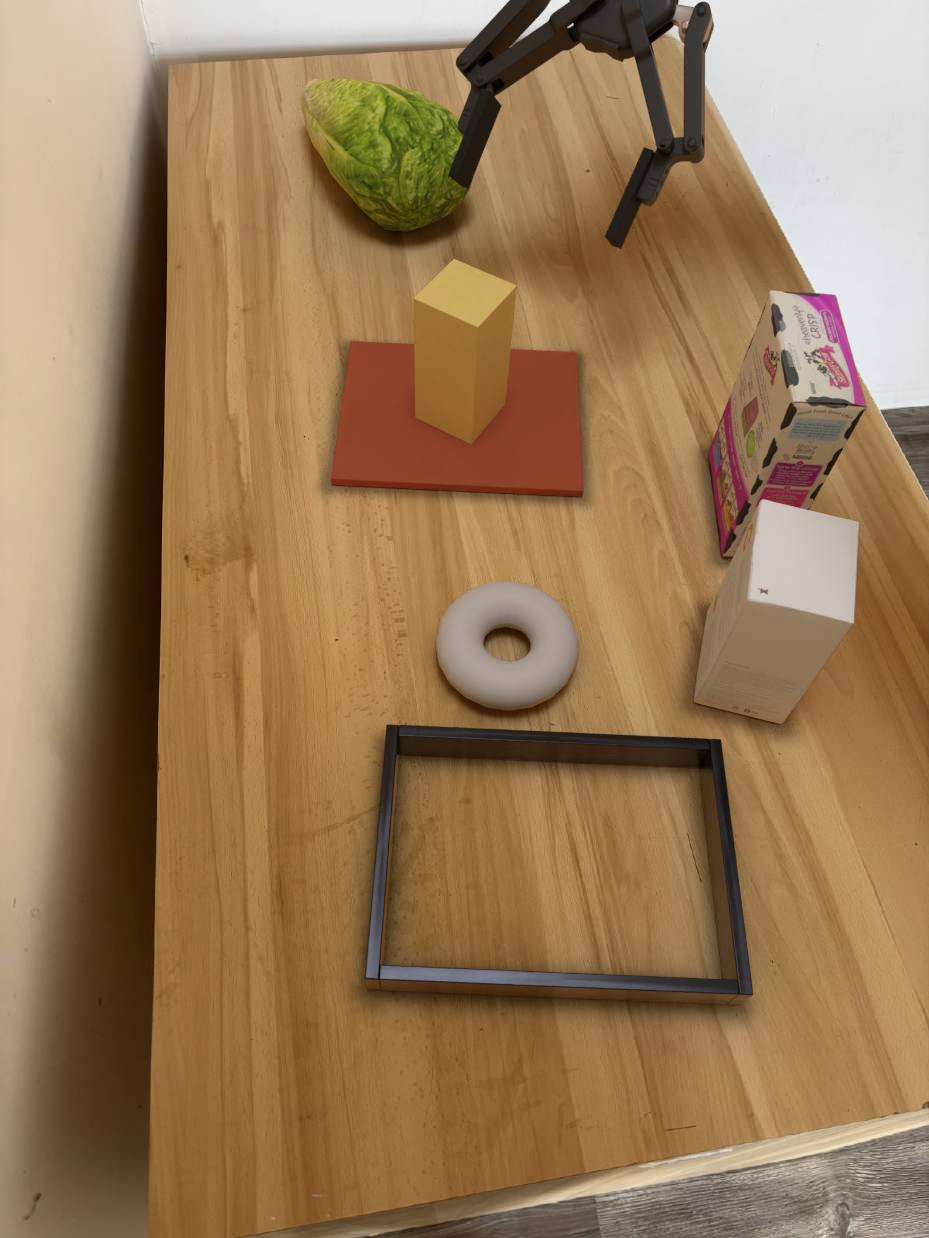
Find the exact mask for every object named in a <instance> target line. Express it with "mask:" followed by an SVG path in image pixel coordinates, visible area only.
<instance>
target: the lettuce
mask: <svg viewBox="0 0 929 1238" xmlns="http://www.w3.org/2000/svg"><path fill="white" fill-rule="evenodd" d="M300 91H301V92H300V94H299V103H300V107H301V110H302V115H303V120H304V124H305V125H304V126H305V129H306V131H307V133H308V136H309V138H310V141H311V143H312V145H313V147H314V148H315V149H316V151H317V153H318V154H319V155H320V157H321V158H322V160H323V162H324V164H325V166H326V168H327V170H328V171H329V173H330V175H331V176H332V178H333V179H334V180H335V181H336V182H337V184H339V185H340V186H341V188H342V189H343V191H345V192H346V194H347V195H348V196H349V198H350V199H351V200H352V201H353V202H354V203H355V204H356V205H357V207H358V208H359V209H360V210H361V211H362V212H363V213H364V214H366V215H367V216H368V217H369V218H370V220H372V221H373V222H375V224H377V225H379V226H380V227H381V228H383V229H384V230H385V231H393V232H395V231H396V232H397V231H398V232H410V231H411V232H412V231H413V230H417V229H421V228H424V227H427V226H429V225H431V224H433V223H435V222H437V221H439V220H441V219H443V218H444V217H447V216H448V215H451V213H452V212H454V211H455V210H456V209H458V207H460V206H461V204H462V202H463V201H464V199H465V197H466V196H467V194H468V193H469V191H470V189H471V186H472V183H473V180H474V178H473V179H472V181H471V184H470V186H469V189H467V188H465V187H462V186H460V185H459V184H458V183H457V182H456V181H455V180H453V179H452V178H451V177H450V176H449V175H448V174H449V171H450V169H451V166H452V164H453V161H454V158H455V156H456V153H457V151H458V148H459V146H460V143H461V141H462V138H463V134H462V133H461V132H460V131H459V130H458V121H459V119H458V118H457V116H456V115H455V114H454V113H453V112H451V111H450V110H449V108H447V107H445V105H443V104H441V103H439V102H438V101H436V100H434V99H432V98H430V97H429V96H426V95H425V94H423V93H421V92H420V91H417V90H413V89H409V88H405V87H401V86H398V85H393V84H390V83H384V82H377V81H371V80H359V79H349V78H313V79H312V80H310V81H308V82H307V83H306V84H304V85H303V87H302V89H301V90H300Z"/></svg>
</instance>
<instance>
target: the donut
mask: <svg viewBox="0 0 929 1238" xmlns="http://www.w3.org/2000/svg"><path fill="white" fill-rule="evenodd" d="M502 628H509V629H514V630H517V631H518V632H521V633H523V635H524V636H526V638H527V639H528V641H529V643H530V647H529V652H528V653H527V654H526V655H524V657H522V658H519V659H517V660H511V661H510V660H509V661H508V660H501V659H498V658H497V657H494V656H492V655H491V654H490V653H489V652H488V651H487V649H486V648H485V645H484V641H485V638H486V637H487V635H488V634H489V633H490V632H491V631H494V630H496V629H502ZM434 644H435V649H436V654H437V655H436V656H437V661H438V665H439V668H440V669H441V671H442V672H443V675H444V676H445V678H446V680H447V681H448V683H449V684H450V685H451V687H453V688H454V689H455V690H457V692H459V693H460V694H461V695H462V696H463V697H464V698H465V699H468V700H470V701H472V702H474V703H476V704H479V705H480V706H483V707H485V708H488V709H495V710H496V709H497V710H502V711H516V710H523V709H530V708H534V707H536V706H537V705H540V704H542V703H545V702H547V701H549V700H551V699H552V698H553V697H554V696H555V695H556V694H557V693H558V692H559V691H561V690H562V689H563V688H564V687H565V686H566V685H567V684H568V682H569V681H570V678H571V676H572V673H573V672H574V670H575V668H576V666H577V663H578V655H579V646H580V645H579V644H580V643H579V638H578V634H577V630H576V626H575V623H574V621H573V620H572V617H571V616H570V615H569V613H568V612H567V610H566V609H565V607H564V606H563V605H562V603H560V602H559V601H558V600H556V598H554V597H553V596H552V595H550V594H549V593H548V592H547V591H545V590H543V589H540V588H538V587H535V586H533V585H531V584H529V583H527V582H518V581H513V580H499V581H490V582H485V583H482V584H480V585H477V586H475V587H472V588H470V589H467V590H466V591H465V592H463V593H462V594H461V595H460V596H458V597H457V598H456V599H455V600H454V601H452V602H451V603H450V604H449V605H448V607H447V608H446V610H445V612H444V613H443V615H442V617H441V618H440V620H439V623H438V627H437V632H436V637H435V642H434Z"/></svg>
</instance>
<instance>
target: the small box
mask: <svg viewBox="0 0 929 1238" xmlns="http://www.w3.org/2000/svg"><path fill="white" fill-rule="evenodd" d="M860 525H861V523H860V522H859V521H857V520H853V519H848V518H845V517H840V516H835V515H831V514H827V513H823V512H819V511H814V510H810V509H809V510H806V509H802V508H797V507H793V506H789V505H785V504H781V503H776V502H772V501H768V500H765V499H762V500H761V501H760V503H759V505H758V507H757V509H756V511H755V513H754V515H753V517H752V519H751V521H750V523H749V526H748V528H747V530H746V532H745V534H744V536H743V538H742V540H741V542H740V544H739V546H738V549H737V551H736V553H735V555H734V557H733V558H731V561H730V563H729V565H728V568H727V570H726V572H725V574H724V576H723V578H722V579H721V583H720V584H719V587H718V588H717V590H716V593H715V595H714V597H713V598H712V600H711V603H710V605H709V607H708V609H707V611H706V615H705V621H704V628H703V633H702V639H701V647H700V652H699V659H698V667H697V673H696V679H695V686H694V695H693V703H695V704H700V705H702V706H706V707H710V708H715V709H718V710H722V711H727V712H730V713H734V714H738V715H742V716H746V717H750V718H754V719H759V720H763V721H767V722H771V723H775V724H778V725H782V724H784V723H785V721H786V720H787V719H788V717H789V716H790V714H791V713H792V712H793V710H794V709H795V707H796V706H797V704H798V703H799V701H800V700H801V699H802V697H803V696H804V695H805V693H806V691H808V689H809V687H810V686H811V685H812V684H813V682H814V681H815V679H816V678H817V676H818V675H819V674H820V672H821V671H822V670H823V668H824V667H825V666H826V663H827V662H828V661H829V660H830V658H831V657H832V655H833V654H834V653H835V651H836V650H837V648H838V647H839V646H840V644H841V643H842V641H843V640H844V639H845V637H846V636H847V634H848V633H849V632H850V631H851V629H852V628H853V626H854V625H855V624H856V608H857V607H856V605H857V587H858V586H857V585H858V564H859V547H860V546H859V543H860Z"/></svg>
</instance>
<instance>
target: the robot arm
mask: <svg viewBox="0 0 929 1238" xmlns="http://www.w3.org/2000/svg"><path fill="white" fill-rule="evenodd" d="M551 1H552V0H508V1H507V2H506V3H505V5H504V6H502V8H500V10H499V11H498V12H497V13H496V14H495V15H494V16H493V17H492V18H491V19H490V20H489V22H488V23H487V24H486V25H485V26H484V28H482V30H480V32H478V34H477V35H476V36H475V37H474V38H473V39H472V40H471V42H469V44H468V45H467V46H466V47H465V48H464V49H463V50H462V51H461V52H460V53H459V54H458V56H457V57H456V59H455V66H456V68H457V70H458V71H459V72H460V73H461V74H462V76H464V78H465V79H466V81H467V82H469V83H470V90H469V93H468V95H467V98H466V101H465V103H464V106H463V108H462V111H461V114H460V116H459V119H458V130H459V131H460V132H461V133H462V134H463V138H462V141H461V143H460V146H459V148H458V151H457V153H456V156H455V158H454V161H453V164H452V166H451V169H450V171H449V174H448V175H449V176H450V177H451V178H452V179H453V180H455V181H456V182H457V183H458V184H459V185H460V186H462V187H465V188H467V189H469V186H470V184H471V181H472V182H473V180H474V176H475V174H476V171H477V169H478V167H479V164H480V161H481V159H482V156H483V153H484V151H485V148H486V146H487V143H488V141H489V139H490V136H491V133H492V131H493V129H494V126H495V123H496V121H497V118H498V116H499V113H500V111H501V109H502V104H501V103H500V102H499V100H498V99H497V97H496V96H498V95H499V94H501V93H502V92H504V91H505V90H507V89H508V88H510V87H512V86H513V85H514V84H516V83H517V82H519V81H520V80H521V79H524V77H526V76H528V75H529V74H531V73H532V72H534V71H535V70H536V69H538V68H540V67H541V66H543V65H544V64H545V63H547V62H548V61H550V60H551V59H553V58H555V57H556V56H557V55H558V54H560V53H562V52H564V51H567V52H568V51H570V50H572V49H573V48H575V47H577V46H578V45H580V44H581V45H582V46H584V47H583V48H585V50H586V51H589V52H592V53H594V54H606V55H608V56H609V57H610V58H611V59H613V60H615V61H617V62H621V63H624V61H625V60H629V59H632V58H634V61H635V64H636V68H637V72H638V76H639V81H640V84H641V88H642V92H643V97H644V102H645V105H646V109H647V113H648V118H649V121H650V125H651V129H652V134H653V137H654V142H655V144H654V145H655V147H656V149H655V150H654V149H651V148H649V147H646V146H643V148H642V151H641V153H640V155H639V158H638V160H637V162H636V164H635V166H634V169H633V171H632V173H631V175H630V178H629V180H628V182H627V184H626V187H625V189H624V191H623V194H622V196H621V198H620V201H619V203H618V205H617V207H616V209H615V212H614V214H613V216H612V218H611V221H610V223H609V225H608V227H607V230H606V232H605V234H604V238H605V239H606V241H607V242H608V243H609V244H610V246H611V247H614V248H615V249H619V250H622V248H623V245H624V244H625V241H626V239H627V237H628V234H629V232H630V230H631V228H632V225H633V223H634V221H635V219H636V217H637V214H638V212H639V210H640V207H641V205H644V206H645V207H649V208H651V207H652V206H654V204H655V203H656V202H657V201H658V198H659V196H660V194H661V192H662V189H663V187H664V185H665V183H666V180H667V178H668V176H669V174H670V171H671V169H672V168H673V167H674V166H675V165H676V164H678V163H684V162H685V163H686V162H687V163H688V162H690V163H692V164H694V165H695V164H696V165H697V164H699V163H700V162H702V161H703V160H704V158H705V154H706V143H705V142H706V53H707V49H708V46H709V45H710V44H709V43H710V40H711V37H712V35H713V32H714V27H715V24H714V17H713V13H712V9H711V5H710V4H709V3H708V2H707V1H700V2H697V3H696V5H694V6H689V5H683V4H679V1H680V0H568V2H567V3H565V4H564V5H562V6H561V7H559V8H558V9H557V10H555V11H554V12H552V13H551V15H549V18H548V20H547V21H546V22H545V23H543V24H541V25H540V26H539V27H537V28H536V29H535V30H533V31H532V32H530V33H529V34H527V35H525V36H524V37H523V38H521V39H520V40H519V41H517V40H518V39H519V38H520V37H521V36H522V35H523V34H524V33H525V32H526V31H527V30H528V29H529V27H531V25H532V24H534V22H535V21H536V20H538V18H539V17H540V16H541V15H542V13H543V12H544V11H545V10H546V9H547V7H548V6H549V5H550V2H551ZM674 26H676V27H677V28H678V30H677V32H678V37H679V40H680V42H681V43H682V44H683V136H680V137H679V136H678V137H677V136H676V137H675V135H674V130H673V127H672V122H671V119H670V113H669V109H668V105H667V102H666V98H665V93H664V89H663V86H662V81H661V77H660V74H659V73H660V72H659V68H658V64H657V60H656V59H657V58H656V56H655V51H654V48H653V43H654V42H656V41H657V40H658V39H661V37H663V36H664V35H665V34H666V33H668V32H669V31H670V30H672V29H673V28H674ZM516 41H517V42H516ZM472 179H473V180H472ZM471 185H472V184H471ZM469 190H470V189H469Z"/></svg>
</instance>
